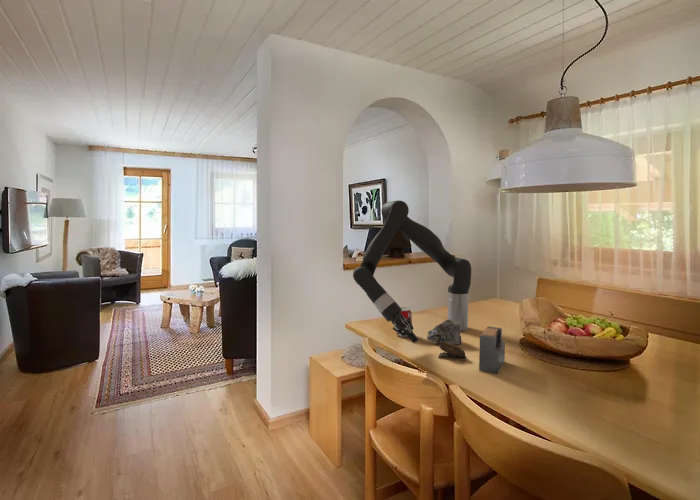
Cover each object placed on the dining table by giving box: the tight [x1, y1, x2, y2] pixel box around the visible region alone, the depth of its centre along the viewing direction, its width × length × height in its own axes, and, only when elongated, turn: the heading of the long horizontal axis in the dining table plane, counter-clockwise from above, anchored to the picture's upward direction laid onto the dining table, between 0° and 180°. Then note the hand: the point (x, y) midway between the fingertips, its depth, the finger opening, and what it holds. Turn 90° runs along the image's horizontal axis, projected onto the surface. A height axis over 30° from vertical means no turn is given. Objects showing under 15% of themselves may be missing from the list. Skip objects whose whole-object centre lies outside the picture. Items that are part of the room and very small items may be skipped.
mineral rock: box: [426, 319, 462, 345], centre depth 165 cm, size 13×11×10 cm
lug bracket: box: [478, 326, 506, 375], centre depth 139 cm, size 13×6×12 cm, turn 149°
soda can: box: [395, 306, 413, 338], centre depth 175 cm, size 7×7×12 cm
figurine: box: [429, 334, 467, 363], centre depth 148 cm, size 14×4×9 cm, turn 67°
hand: (416, 341), depth 153 cm, fingers closed
